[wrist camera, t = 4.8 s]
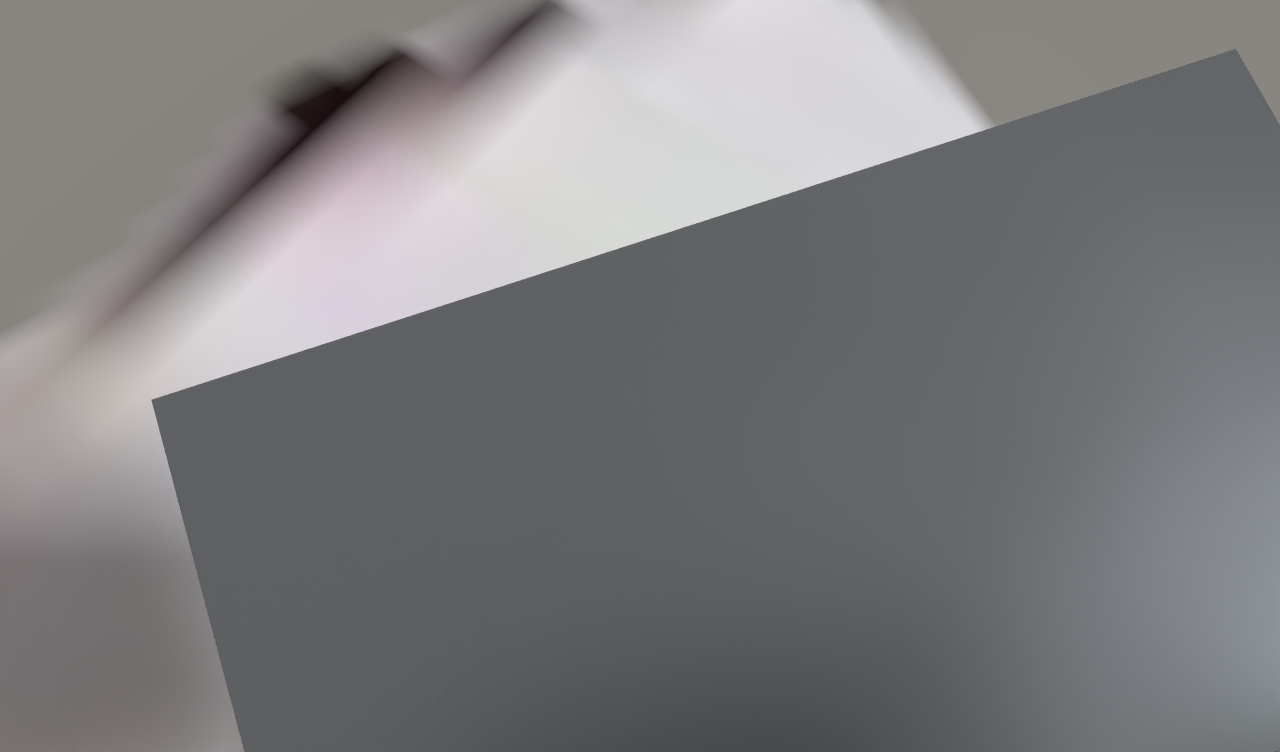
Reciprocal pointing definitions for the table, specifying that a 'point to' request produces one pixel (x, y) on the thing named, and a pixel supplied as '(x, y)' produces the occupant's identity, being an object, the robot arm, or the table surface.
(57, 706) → the table surface
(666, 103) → the table surface
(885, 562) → the plate
